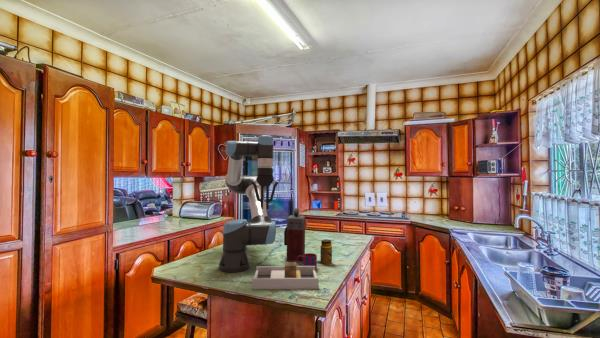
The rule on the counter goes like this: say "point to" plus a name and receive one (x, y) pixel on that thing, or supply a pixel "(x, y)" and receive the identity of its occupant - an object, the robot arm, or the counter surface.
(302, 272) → the box
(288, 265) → the block
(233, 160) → the robot arm
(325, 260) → the condiment
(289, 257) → the dark red tall piece
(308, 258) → the mug
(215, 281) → the counter surface
